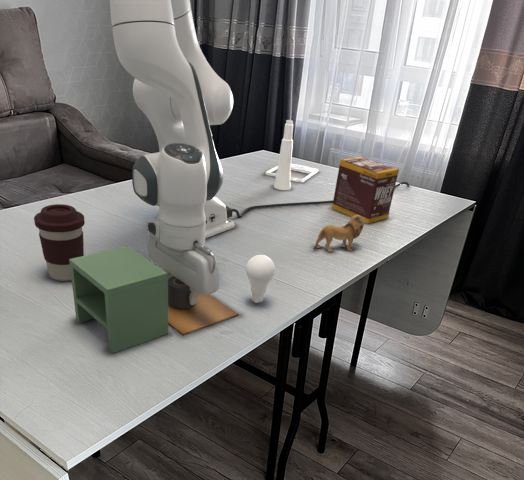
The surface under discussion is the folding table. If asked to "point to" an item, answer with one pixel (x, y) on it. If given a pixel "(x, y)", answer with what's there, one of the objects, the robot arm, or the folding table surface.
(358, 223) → the lion figurine
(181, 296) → the tape roll
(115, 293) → the shelf
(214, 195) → the robot arm
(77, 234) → the coffee cup
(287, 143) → the white tapered tower
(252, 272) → the lightbulb
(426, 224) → the folding table surface
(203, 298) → the copper sheet
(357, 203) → the supplement box
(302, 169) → the photo frame
